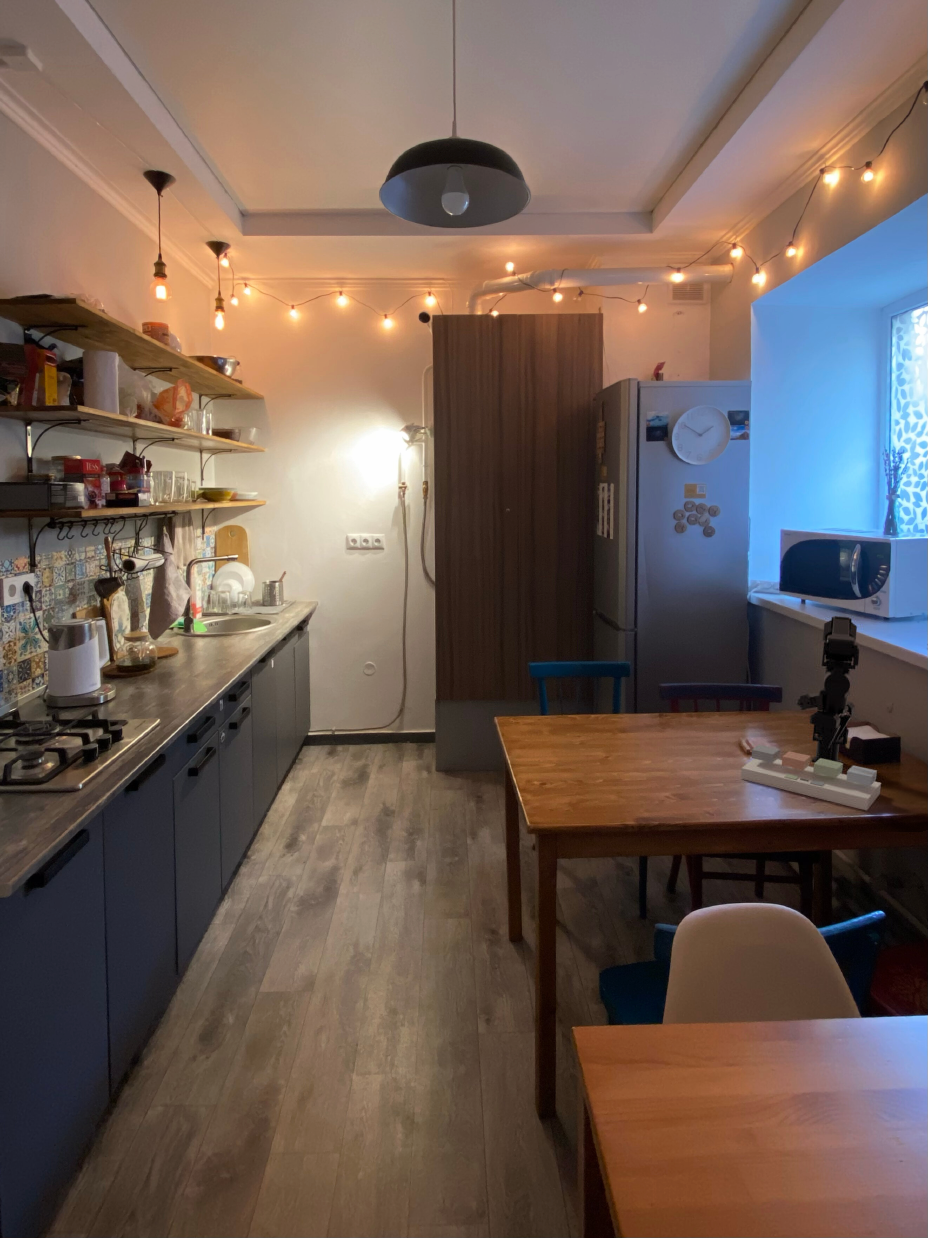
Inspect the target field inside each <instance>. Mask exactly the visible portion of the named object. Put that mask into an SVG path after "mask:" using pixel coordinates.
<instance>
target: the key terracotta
mask: <svg viewBox="0 0 928 1238" xmlns="http://www.w3.org/2000/svg"><path fill="white" fill-rule="evenodd" d="M811 757H812V756H811V755H808V754H803V753H799V752H793V751H789V750H788V752H786V753H785V754H784V755H782V757H781V758H782V759H781V760H782V765H784V766H788V767H792V768H796V769H801V770H804V769H805V768H807V767H808V766H810V765H811V760H812V758H811Z"/></svg>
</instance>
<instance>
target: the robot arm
mask: <svg viewBox="0 0 928 1238" xmlns="http://www.w3.org/2000/svg"><path fill="white" fill-rule="evenodd" d="M857 628H858V626H857V625H856V624H855V623H854V622H852V618H850V617H849V616H840V615H839V616H838V615H835V616H831V620H829V621H826V622H824V624H823V632H822V642H823V649H822V657H821V658H822V660H821V667H824V668H825V669H824V678H823V679H824V680H823V688H822V689H821V690H820V691H819V692H816V693H806V694H801V695H800V696H799V697H798V698H797V703H796V704H797V706H799V708H800V711H806V710H808V709H814V708H816V709H817V711H815V712H814V713H813V714H811V715H810V719H809V724H811V725H813V732H812V742H816V751H815V756H814V757H813V758H811V762H813V763H815V762H817V761H818V760H819V759H820V758H822V759H826V760H831V761H835V762H840V763H842V762H841V761H842V759H841V758H838V757H839V750H840V749H839V748H840V745H842V746H845V745H847V744H848V740H849V739H848V738H849V733H850V732H849V729H848V726H847V725H848V723H849V721H850V720H851V718H852V716H853V715H854V714H855V710H856V706H855V704H854V703H853V702H852V701H848V697H849V696H850V693H851V690H850V687H851V682H850V681H851V679H850V675H851V670H856V666H859V659H860V648H859V646H858V644H856V639H857V633H858V632H857V630H858V629H857ZM847 713H849V714H847Z"/></svg>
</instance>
